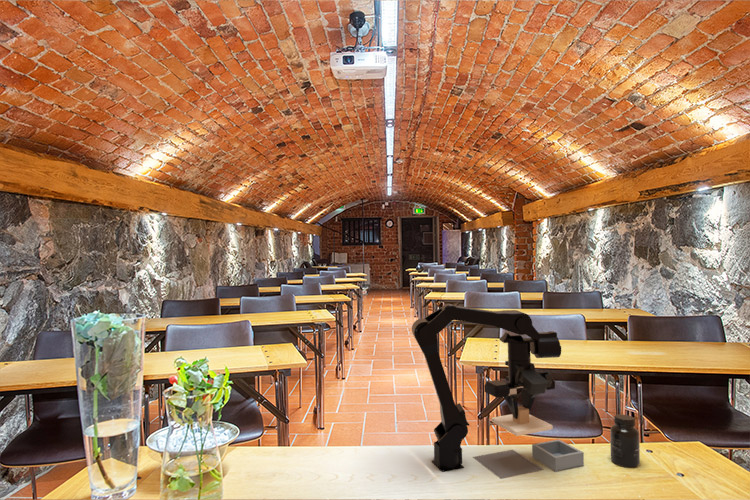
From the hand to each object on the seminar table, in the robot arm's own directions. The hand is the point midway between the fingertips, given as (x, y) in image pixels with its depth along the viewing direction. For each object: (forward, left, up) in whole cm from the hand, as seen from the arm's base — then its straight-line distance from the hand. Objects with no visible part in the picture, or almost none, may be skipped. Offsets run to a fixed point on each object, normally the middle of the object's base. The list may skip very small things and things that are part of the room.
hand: (521, 417), depth 123 cm
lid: (0, 0, -2) cm, 2 cm away
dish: (+9, -3, -12) cm, 16 cm away
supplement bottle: (+26, -9, -13) cm, 30 cm away
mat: (-4, +1, -12) cm, 13 cm away
